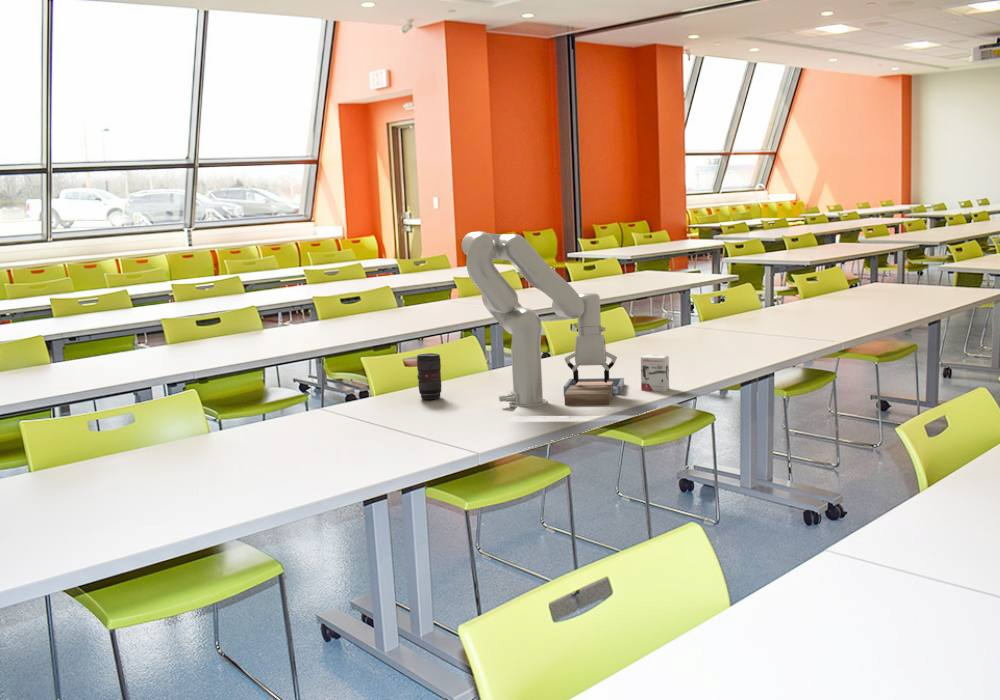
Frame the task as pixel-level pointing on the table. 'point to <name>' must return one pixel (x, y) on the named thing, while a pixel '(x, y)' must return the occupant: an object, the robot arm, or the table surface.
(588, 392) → the plate
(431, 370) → the camera lens
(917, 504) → the table surface
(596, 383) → the tile
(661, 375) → the ink box
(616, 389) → the tray
